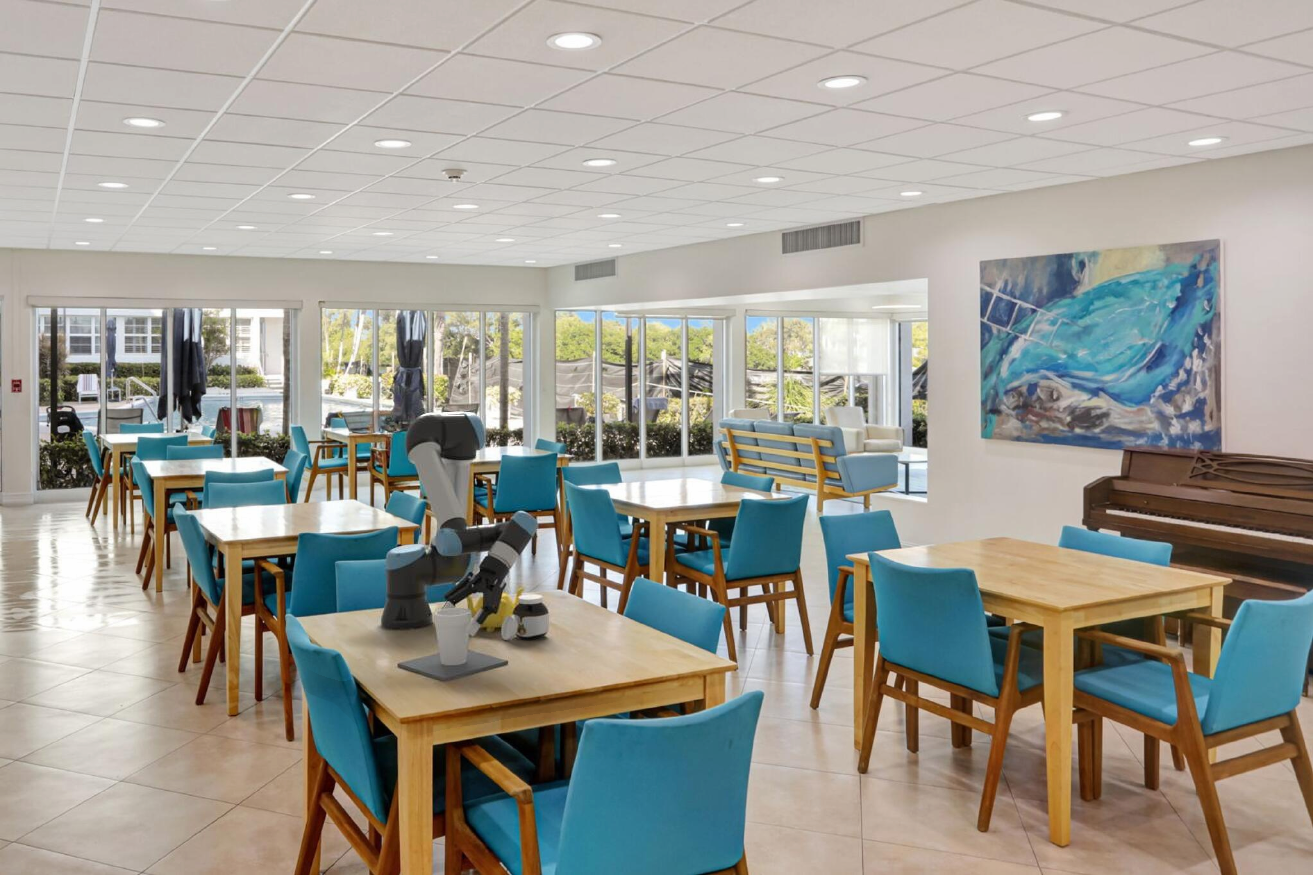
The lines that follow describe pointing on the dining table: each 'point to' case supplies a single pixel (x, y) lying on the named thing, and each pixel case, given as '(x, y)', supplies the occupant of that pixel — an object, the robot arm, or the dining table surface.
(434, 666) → the rubber mat
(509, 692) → the dining table surface
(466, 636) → the foam cup
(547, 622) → the spread jar
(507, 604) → the teapot
